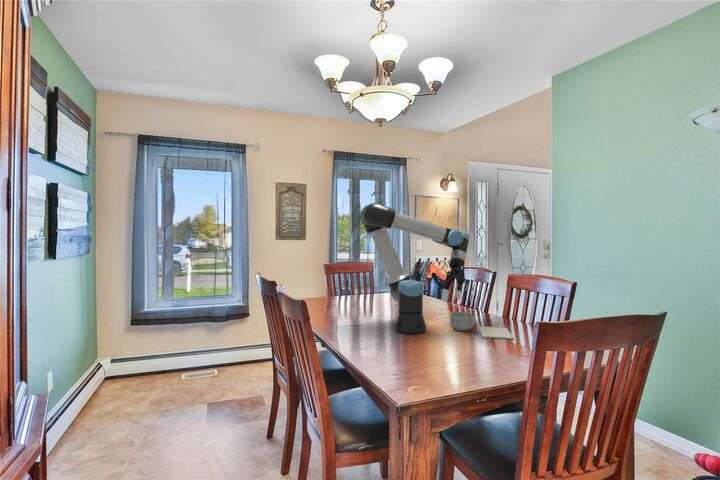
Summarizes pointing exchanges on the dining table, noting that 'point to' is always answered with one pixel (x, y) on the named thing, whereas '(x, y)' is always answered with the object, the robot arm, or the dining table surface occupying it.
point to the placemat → (495, 332)
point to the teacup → (462, 320)
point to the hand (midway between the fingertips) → (450, 299)
